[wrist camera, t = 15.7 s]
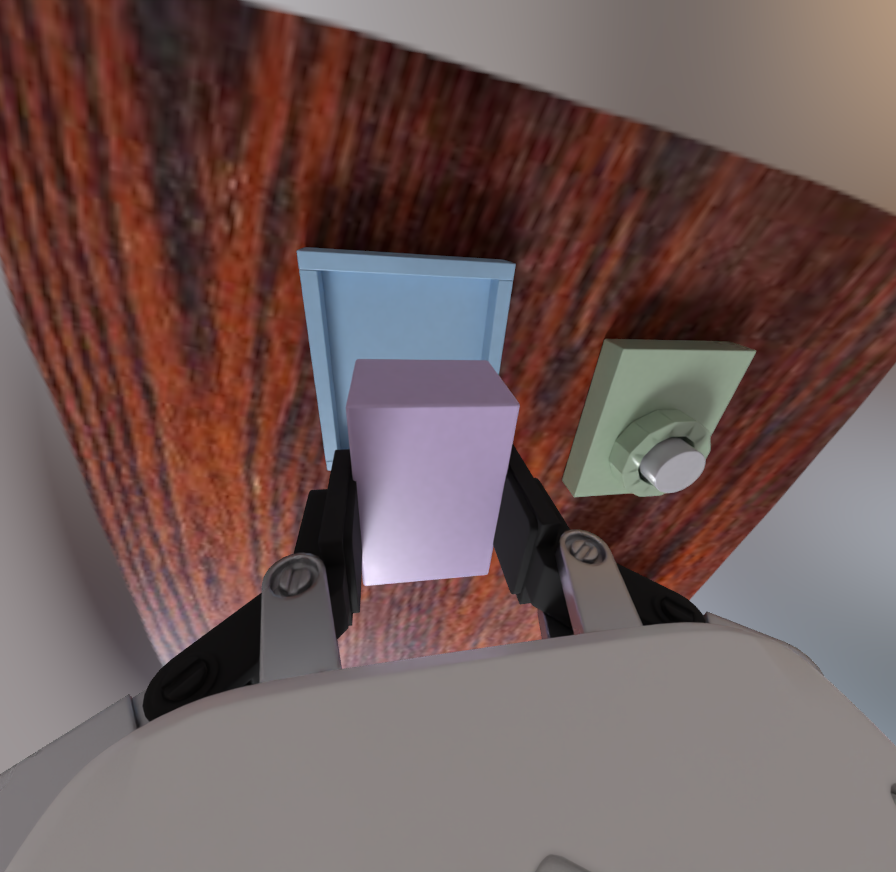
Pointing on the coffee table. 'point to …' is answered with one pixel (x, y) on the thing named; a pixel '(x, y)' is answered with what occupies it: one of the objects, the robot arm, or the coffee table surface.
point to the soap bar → (428, 465)
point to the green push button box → (649, 408)
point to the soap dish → (396, 317)
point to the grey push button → (672, 465)
